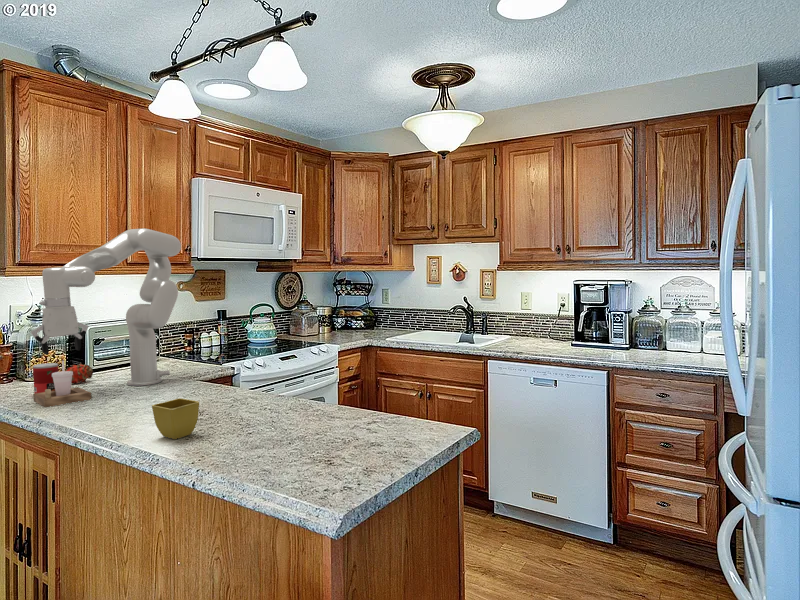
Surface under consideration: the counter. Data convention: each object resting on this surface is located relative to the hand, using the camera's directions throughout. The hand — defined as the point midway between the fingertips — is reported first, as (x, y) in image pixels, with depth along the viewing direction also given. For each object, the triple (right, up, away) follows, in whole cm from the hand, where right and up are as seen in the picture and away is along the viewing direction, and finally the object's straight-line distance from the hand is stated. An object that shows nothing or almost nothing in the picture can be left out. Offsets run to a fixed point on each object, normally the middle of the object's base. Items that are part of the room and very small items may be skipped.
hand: (62, 352), depth 189 cm
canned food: (-12, -17, +10) cm, 23 cm away
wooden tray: (0, -17, 0) cm, 17 cm away
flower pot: (+58, -19, -43) cm, 75 cm away
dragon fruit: (-12, -16, +30) cm, 36 cm away
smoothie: (0, -17, +1) cm, 17 cm away
